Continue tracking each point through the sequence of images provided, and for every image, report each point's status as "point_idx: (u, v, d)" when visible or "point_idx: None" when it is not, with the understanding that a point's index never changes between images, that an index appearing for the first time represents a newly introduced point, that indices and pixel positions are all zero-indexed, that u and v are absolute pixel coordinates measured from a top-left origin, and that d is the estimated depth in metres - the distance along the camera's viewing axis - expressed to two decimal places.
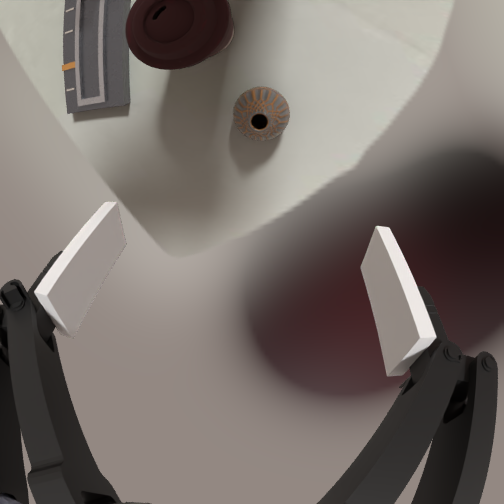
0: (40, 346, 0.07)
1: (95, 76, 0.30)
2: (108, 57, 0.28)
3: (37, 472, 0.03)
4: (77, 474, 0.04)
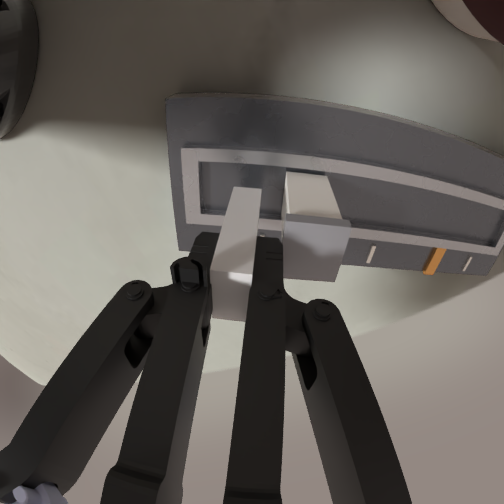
0: (197, 343, 0.08)
1: (481, 212, 0.16)
2: (471, 178, 0.15)
3: (125, 475, 0.04)
4: (167, 489, 0.05)
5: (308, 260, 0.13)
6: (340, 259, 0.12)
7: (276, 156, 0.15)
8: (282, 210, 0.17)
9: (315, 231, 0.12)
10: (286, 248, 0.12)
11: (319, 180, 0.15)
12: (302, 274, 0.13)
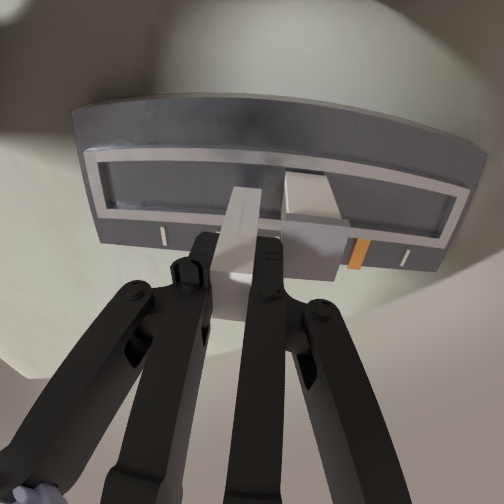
0: (197, 343, 0.08)
1: (412, 197, 0.16)
2: (390, 156, 0.15)
3: (125, 476, 0.04)
4: (167, 489, 0.05)
5: (307, 260, 0.13)
6: (339, 259, 0.13)
7: (156, 151, 0.15)
8: (281, 210, 0.17)
9: (314, 231, 0.12)
10: (285, 248, 0.12)
11: (319, 180, 0.15)
12: (301, 274, 0.13)
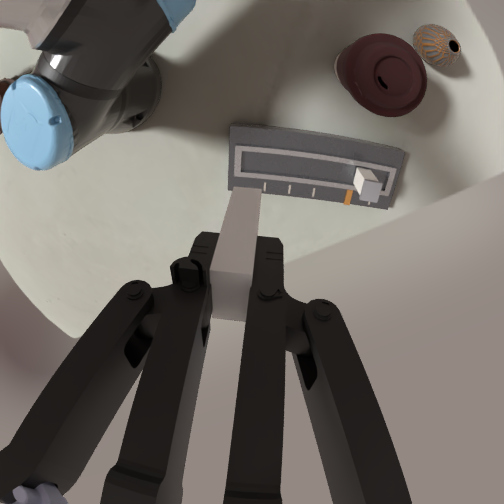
0: (197, 343, 0.08)
1: None
2: (359, 156, 0.40)
3: (125, 475, 0.04)
4: (167, 489, 0.05)
5: (370, 194, 0.38)
6: (379, 194, 0.38)
7: (271, 149, 0.41)
8: (355, 181, 0.42)
9: (372, 184, 0.37)
10: (364, 189, 0.38)
11: (368, 171, 0.41)
12: (367, 199, 0.39)
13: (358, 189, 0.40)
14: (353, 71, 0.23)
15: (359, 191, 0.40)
